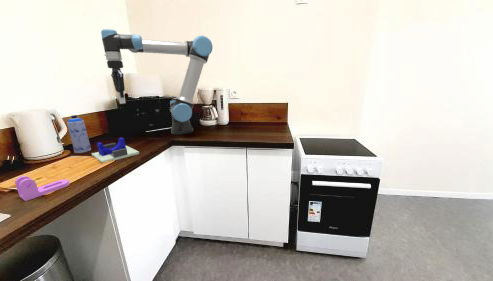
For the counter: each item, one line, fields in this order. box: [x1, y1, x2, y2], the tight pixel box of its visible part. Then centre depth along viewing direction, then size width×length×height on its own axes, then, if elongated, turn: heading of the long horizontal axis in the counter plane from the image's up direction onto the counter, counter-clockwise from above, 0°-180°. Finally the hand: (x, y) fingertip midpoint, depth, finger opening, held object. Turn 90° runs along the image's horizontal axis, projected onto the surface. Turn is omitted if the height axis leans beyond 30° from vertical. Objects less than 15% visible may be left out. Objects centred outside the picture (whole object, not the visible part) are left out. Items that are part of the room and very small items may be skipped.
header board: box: [91, 142, 140, 163], centre depth 112 cm, size 17×18×4 cm
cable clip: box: [96, 137, 127, 156], centre depth 113 cm, size 12×4×6 cm, turn 143°
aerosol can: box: [66, 114, 92, 154], centre depth 120 cm, size 8×8×20 cm
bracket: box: [14, 175, 70, 202], centre depth 77 cm, size 13×6×7 cm, turn 148°
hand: (122, 103), depth 127 cm, fingers closed
